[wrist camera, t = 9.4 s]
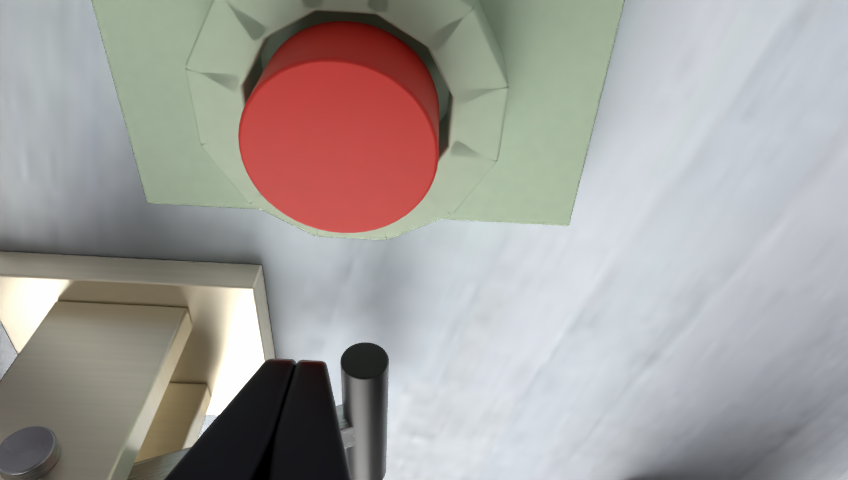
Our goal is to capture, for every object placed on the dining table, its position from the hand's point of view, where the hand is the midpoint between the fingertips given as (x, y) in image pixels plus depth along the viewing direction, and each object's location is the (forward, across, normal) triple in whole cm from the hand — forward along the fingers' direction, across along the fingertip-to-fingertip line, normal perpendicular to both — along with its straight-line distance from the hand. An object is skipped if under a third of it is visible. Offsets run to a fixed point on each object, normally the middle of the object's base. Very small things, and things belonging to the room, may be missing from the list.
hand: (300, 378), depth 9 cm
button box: (+10, 0, -1) cm, 10 cm away
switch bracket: (+10, +8, +10) cm, 16 cm away
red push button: (+7, 0, -1) cm, 7 cm away
